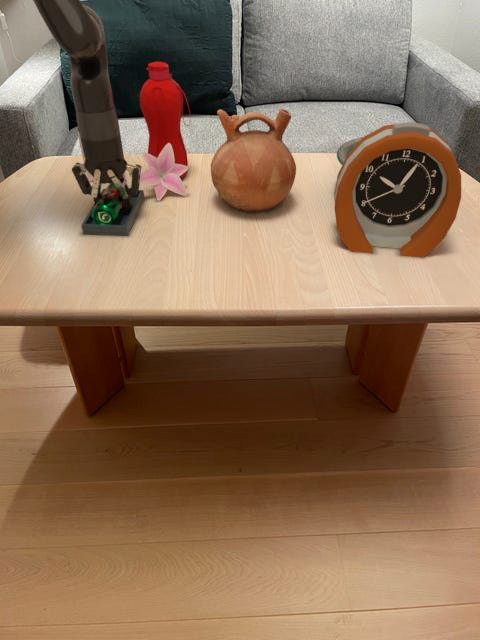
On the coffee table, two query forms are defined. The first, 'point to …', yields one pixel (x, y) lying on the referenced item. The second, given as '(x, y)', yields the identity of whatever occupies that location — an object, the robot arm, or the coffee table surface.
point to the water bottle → (163, 112)
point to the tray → (122, 223)
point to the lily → (163, 172)
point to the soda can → (108, 206)
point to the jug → (253, 163)
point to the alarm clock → (398, 191)
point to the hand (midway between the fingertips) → (114, 211)
